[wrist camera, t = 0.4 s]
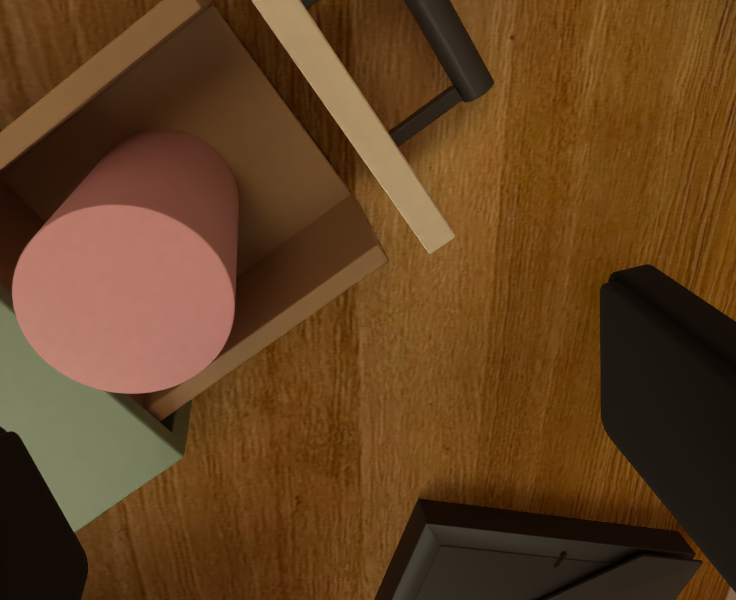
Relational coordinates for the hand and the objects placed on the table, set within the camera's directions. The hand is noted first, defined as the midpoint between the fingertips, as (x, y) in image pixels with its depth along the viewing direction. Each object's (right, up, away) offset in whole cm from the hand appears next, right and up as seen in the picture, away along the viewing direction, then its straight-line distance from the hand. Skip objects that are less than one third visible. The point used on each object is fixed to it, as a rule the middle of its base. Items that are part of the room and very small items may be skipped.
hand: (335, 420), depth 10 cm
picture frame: (+11, -20, +36) cm, 42 cm away
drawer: (-5, +9, +18) cm, 20 cm away
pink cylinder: (-8, +6, +17) cm, 20 cm away
